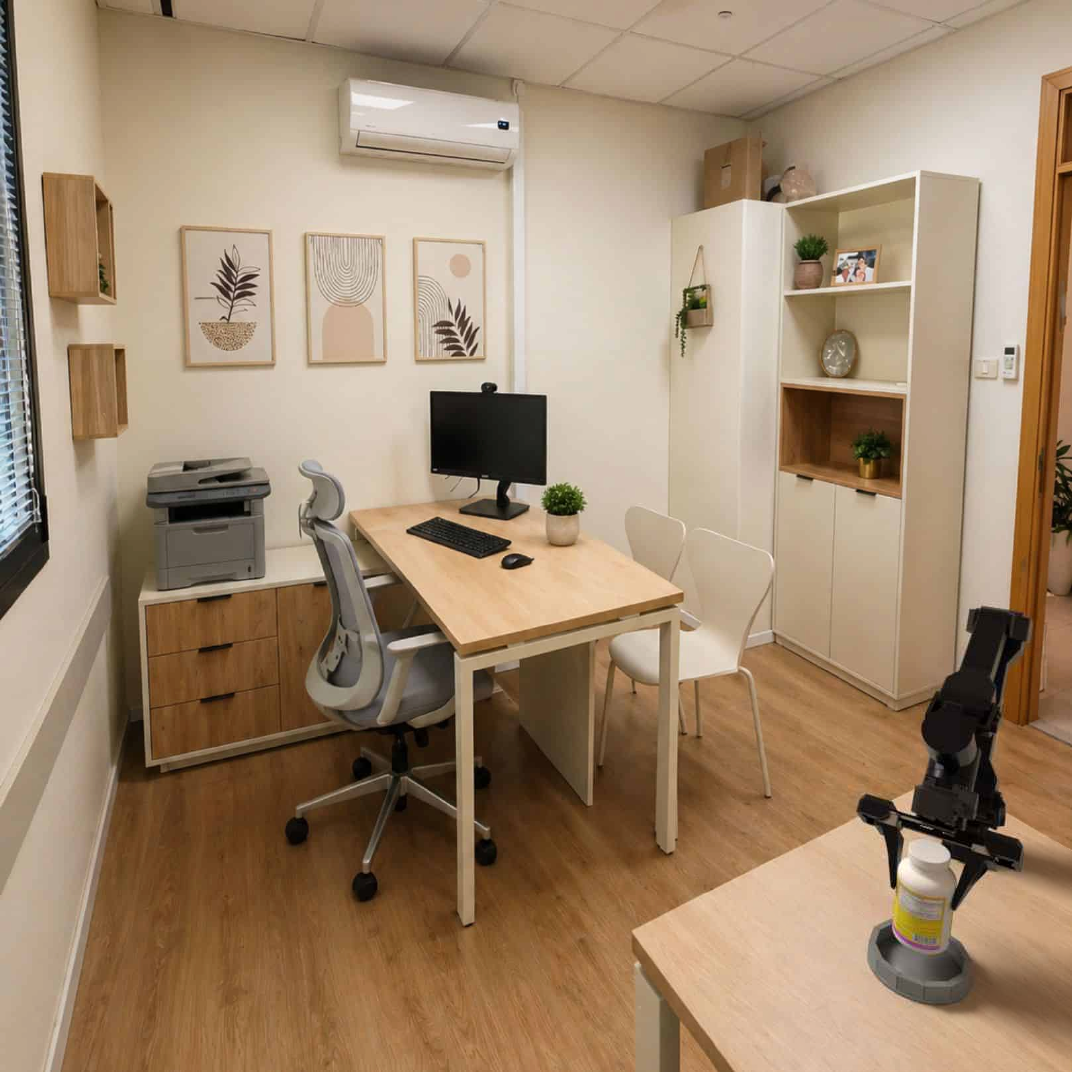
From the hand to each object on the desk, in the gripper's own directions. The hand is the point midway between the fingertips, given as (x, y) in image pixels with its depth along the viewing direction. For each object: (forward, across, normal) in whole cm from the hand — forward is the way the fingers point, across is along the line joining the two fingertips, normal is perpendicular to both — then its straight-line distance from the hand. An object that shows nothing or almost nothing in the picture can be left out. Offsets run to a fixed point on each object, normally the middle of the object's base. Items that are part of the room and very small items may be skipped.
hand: (922, 899), depth 101 cm
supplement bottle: (+4, 0, +6) cm, 7 cm away
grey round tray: (+7, 0, +8) cm, 11 cm away
